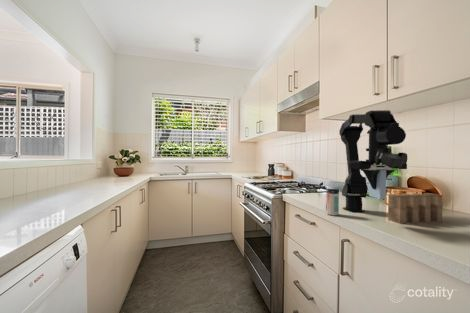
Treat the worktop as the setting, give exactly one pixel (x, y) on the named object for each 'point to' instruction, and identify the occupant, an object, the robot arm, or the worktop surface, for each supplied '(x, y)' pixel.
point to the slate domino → (379, 186)
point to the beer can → (332, 200)
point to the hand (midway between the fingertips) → (377, 188)
